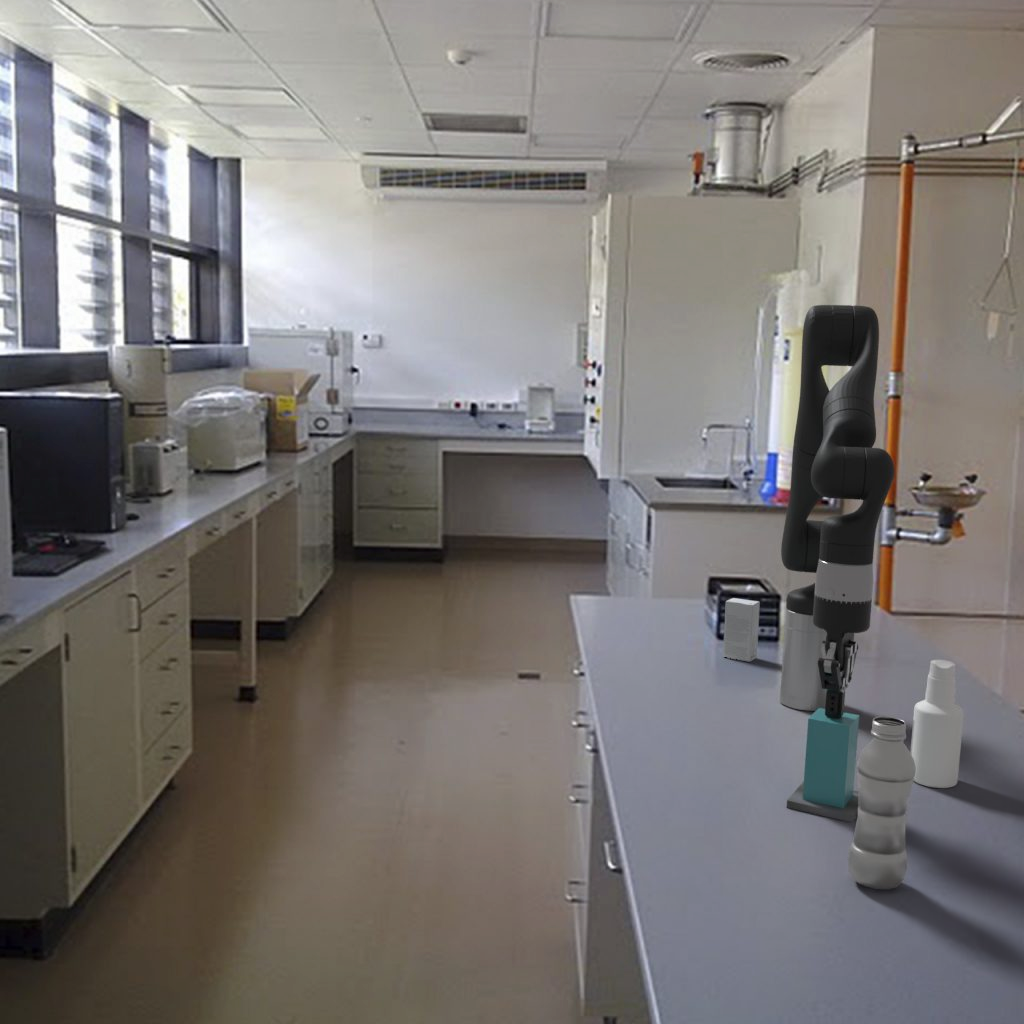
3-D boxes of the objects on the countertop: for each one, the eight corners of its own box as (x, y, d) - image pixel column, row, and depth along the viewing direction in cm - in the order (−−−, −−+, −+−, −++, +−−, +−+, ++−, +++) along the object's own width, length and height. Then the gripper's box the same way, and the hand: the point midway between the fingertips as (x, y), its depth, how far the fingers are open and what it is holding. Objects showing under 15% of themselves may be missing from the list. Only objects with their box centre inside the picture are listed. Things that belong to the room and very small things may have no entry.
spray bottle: (956, 775, 168) (966, 659, 166) (958, 792, 162) (969, 671, 159) (908, 769, 171) (918, 654, 168) (908, 784, 164) (918, 665, 162)
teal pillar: (813, 786, 160) (818, 707, 158) (853, 794, 157) (859, 715, 155) (802, 799, 155) (808, 718, 153) (843, 808, 152) (849, 726, 151)
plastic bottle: (838, 871, 136) (850, 712, 133) (891, 870, 136) (905, 712, 133) (858, 897, 129) (871, 730, 126) (915, 896, 130) (929, 730, 127)
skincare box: (757, 658, 231) (760, 601, 229) (749, 662, 228) (753, 605, 226) (729, 653, 234) (732, 597, 233) (721, 657, 231) (725, 600, 229)
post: (804, 786, 162) (808, 733, 161) (867, 800, 158) (872, 745, 157) (786, 807, 155) (790, 751, 153) (852, 822, 150) (857, 765, 149)
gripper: (860, 606, 144) (850, 735, 147) (881, 589, 156) (872, 709, 158) (802, 598, 148) (793, 724, 151) (827, 582, 159) (819, 699, 162)
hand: (834, 716), depth 154 cm, fingers closed
